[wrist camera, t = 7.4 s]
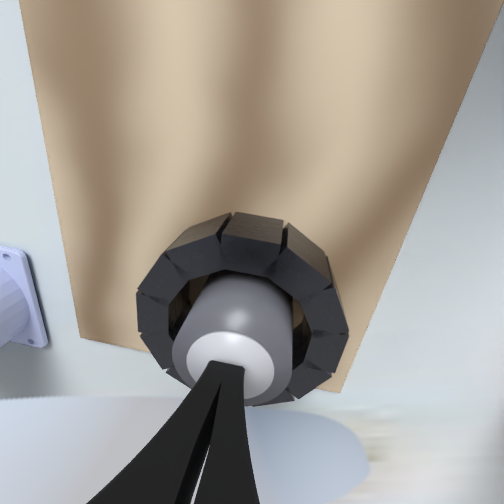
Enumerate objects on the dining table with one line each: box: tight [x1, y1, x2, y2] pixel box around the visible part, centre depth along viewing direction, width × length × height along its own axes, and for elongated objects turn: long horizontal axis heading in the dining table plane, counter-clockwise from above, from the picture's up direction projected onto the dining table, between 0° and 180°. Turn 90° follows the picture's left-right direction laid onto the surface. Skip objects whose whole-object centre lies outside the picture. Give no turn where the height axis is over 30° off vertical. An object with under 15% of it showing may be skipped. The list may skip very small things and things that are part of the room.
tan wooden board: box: [19, 0, 504, 393], centre depth 14 cm, size 18×24×1 cm
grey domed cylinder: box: [172, 269, 293, 406], centre depth 14 cm, size 5×5×5 cm
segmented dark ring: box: [136, 212, 349, 407], centre depth 15 cm, size 10×10×3 cm
